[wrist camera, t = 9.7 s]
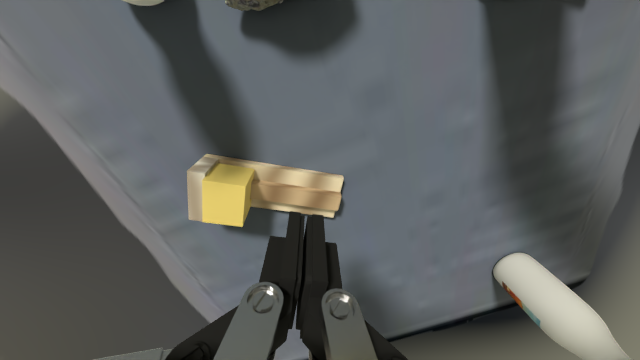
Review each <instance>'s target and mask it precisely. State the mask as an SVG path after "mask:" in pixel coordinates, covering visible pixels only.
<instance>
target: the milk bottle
mask: <svg viewBox="0 0 640 360" xmlns="http://www.w3.org/2000/svg"><path fill="white" fill-rule="evenodd" d="M493 274H494V277H495V279H496V280H497V281H498V282H499V283H500V285H501V286H502V287H503V288H504V289H505V290H506V291H507V292H508V293H509V294H510V296H511V297H512V298H513V299H514V300H515V301H516V302H517V303H518V304H519V306H520V307H521V308H522V309H523V310H524V311H525V312H526V313H527V314H528V315H529V316H530V318H531V319H532V320H533V321H534V322H535V323H536V324H537V325H538V326H539V327H540V328H541V329H542V330H543V331H544V332H545V333H546V334H547V335H548V336H549V337H550V338H551V339H552V340H554V341H555V342H556V343H557V344H559V345H560V346H562V347H563V348H565V349H567V350H568V351H570V352H572V353H574V354H575V355H577V356H578V357H580V358H581V359H583V360H632V359H631V358H630V357H628V356H627V355H626V353H625V352H624V351H623V350H622V349H621V348H620V346H619V345H618V343H617V342H616V341H615V339H614V337H613V336H612V334H611V332H610V331H609V329H608V327H607V326H606V324H605V322H604V321H603V320H602V319H601V317H600V316H599V315H598V314H597V313H596V312H595V311H594V310H593V309H592V308H591V307H590V306H589V305H588V304H587V303H586V302H585V301H583V300H582V299H581V298H580V297H579V296H578V295H577V294H575V293H574V292H573V291H572V290H571V289H569V288H568V287H567V286H566V285H565V284H564V283H562V282H561V281H560V280H559V279H558V278H556V277H555V276H554V275H553V274H552V273H550V272H549V271H548V270H547V269H546V268H544V267H543V266H542V265H541V264H540V263H538V262H537V261H536V260H535V259H533V258H532V257H531V256H530V255H528V254H525V253H513V254H509V255H507V256H505V257H503V258H502V259H501V260H499V261H498V262H497V264H496V265H495V267H494V269H493Z"/></svg>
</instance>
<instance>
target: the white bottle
mask: <svg viewBox="0 0 640 360" xmlns="http://www.w3.org/2000/svg"><path fill="white" fill-rule="evenodd" d="M123 1H125V2H128V3H131V4H135V5H140V6H152V5H157V4H159V3H161V2H163V1H164V0H123Z"/></svg>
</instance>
